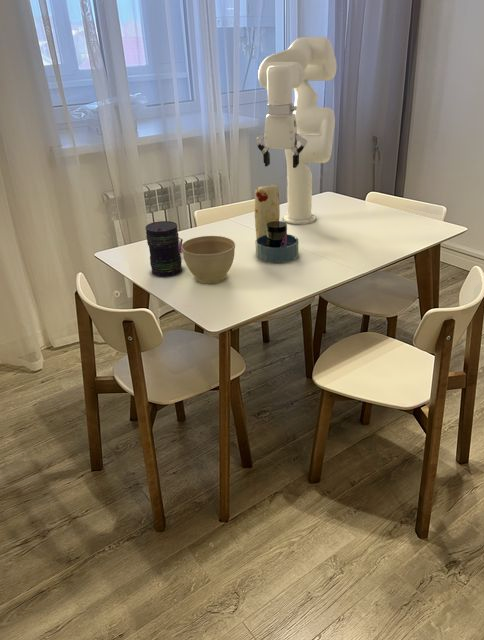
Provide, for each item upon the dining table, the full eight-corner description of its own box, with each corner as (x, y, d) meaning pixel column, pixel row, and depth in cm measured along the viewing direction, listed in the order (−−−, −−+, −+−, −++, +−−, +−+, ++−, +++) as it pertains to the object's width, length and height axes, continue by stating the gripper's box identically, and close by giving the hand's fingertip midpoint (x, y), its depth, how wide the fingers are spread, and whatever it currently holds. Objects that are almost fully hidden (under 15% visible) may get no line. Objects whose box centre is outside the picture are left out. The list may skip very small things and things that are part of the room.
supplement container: (274, 259, 177) (274, 228, 171) (263, 253, 182) (262, 223, 176) (291, 254, 180) (291, 224, 175) (279, 249, 185) (279, 219, 179)
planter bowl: (194, 292, 158) (190, 257, 152) (179, 273, 171) (175, 240, 165) (244, 282, 163) (243, 248, 158) (226, 264, 176) (224, 232, 170)
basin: (264, 247, 189) (264, 231, 186) (303, 250, 185) (303, 235, 182) (250, 261, 178) (249, 245, 175) (291, 266, 173) (291, 249, 170)
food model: (261, 246, 189) (260, 189, 179) (251, 241, 194) (248, 185, 184) (284, 240, 194) (283, 184, 184) (273, 235, 199) (272, 180, 188)
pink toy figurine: (167, 232, 185) (179, 239, 179) (180, 234, 188) (193, 240, 182) (163, 251, 187) (176, 258, 181) (176, 252, 191) (189, 259, 184)
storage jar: (155, 265, 177) (148, 221, 169) (184, 265, 177) (179, 220, 169) (148, 277, 169) (141, 231, 161) (179, 277, 168) (174, 231, 160)
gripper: (310, 108, 167) (309, 164, 177) (258, 107, 173) (260, 162, 182) (303, 112, 162) (303, 170, 171) (249, 111, 167) (252, 167, 176)
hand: (281, 166), depth 176 cm, fingers open, 9 cm apart
